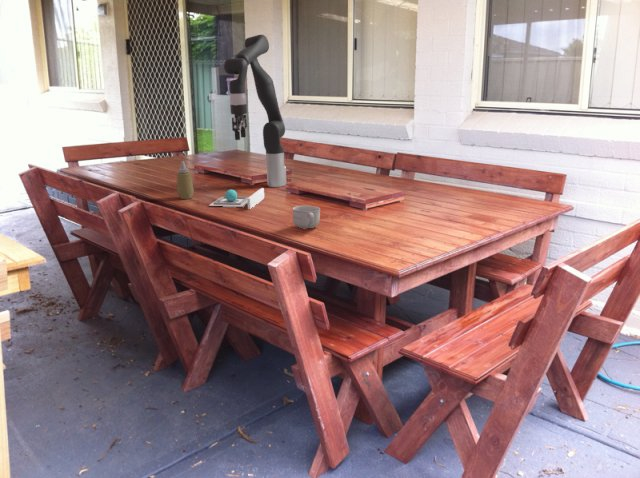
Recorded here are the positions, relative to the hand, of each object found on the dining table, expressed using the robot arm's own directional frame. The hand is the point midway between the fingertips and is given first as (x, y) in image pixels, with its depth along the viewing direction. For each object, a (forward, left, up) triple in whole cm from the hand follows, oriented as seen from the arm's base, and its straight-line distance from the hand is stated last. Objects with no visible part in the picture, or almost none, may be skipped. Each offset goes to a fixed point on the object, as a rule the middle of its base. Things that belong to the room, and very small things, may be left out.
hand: (240, 138), depth 282 cm
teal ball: (+12, +5, -24) cm, 28 cm away
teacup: (+23, +62, -28) cm, 72 cm away
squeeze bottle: (+18, -22, -28) cm, 40 cm away
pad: (+12, +5, -28) cm, 31 cm away
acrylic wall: (+6, +15, -28) cm, 32 cm away
